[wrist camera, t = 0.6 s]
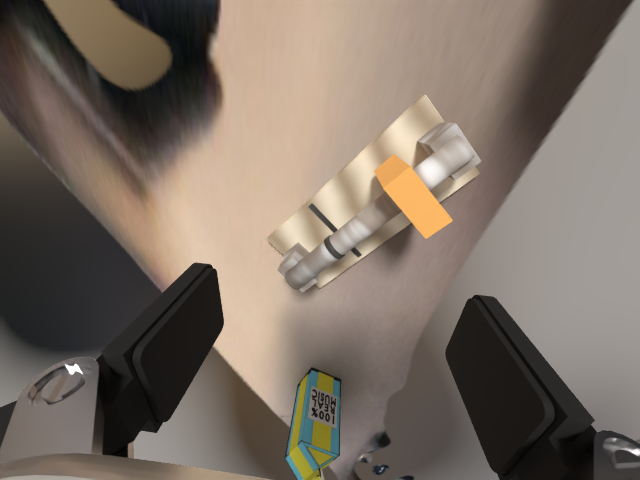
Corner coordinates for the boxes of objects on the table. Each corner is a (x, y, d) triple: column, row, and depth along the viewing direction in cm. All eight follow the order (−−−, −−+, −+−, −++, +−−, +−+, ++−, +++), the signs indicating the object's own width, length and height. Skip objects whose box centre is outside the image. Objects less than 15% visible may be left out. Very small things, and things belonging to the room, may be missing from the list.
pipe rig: (423, 95, 29) (447, 87, 22) (476, 171, 32) (511, 186, 25) (268, 237, 39) (252, 262, 32) (320, 284, 42) (315, 317, 36)
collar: (393, 153, 30) (410, 166, 22) (427, 196, 32) (453, 220, 24) (373, 171, 31) (383, 188, 23) (407, 210, 33) (425, 239, 25)
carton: (328, 398, 56) (321, 512, 40) (297, 385, 55) (277, 496, 39) (344, 380, 53) (344, 496, 37) (312, 366, 52) (297, 479, 36)
